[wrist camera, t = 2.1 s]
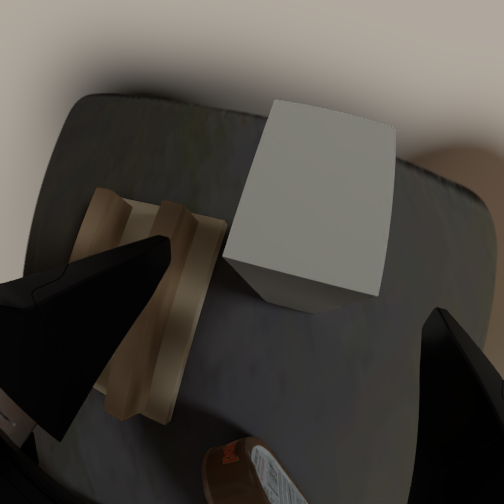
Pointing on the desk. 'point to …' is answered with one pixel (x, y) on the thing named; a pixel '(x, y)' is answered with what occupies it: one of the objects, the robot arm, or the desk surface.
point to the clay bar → (315, 209)
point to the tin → (247, 475)
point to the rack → (153, 299)
